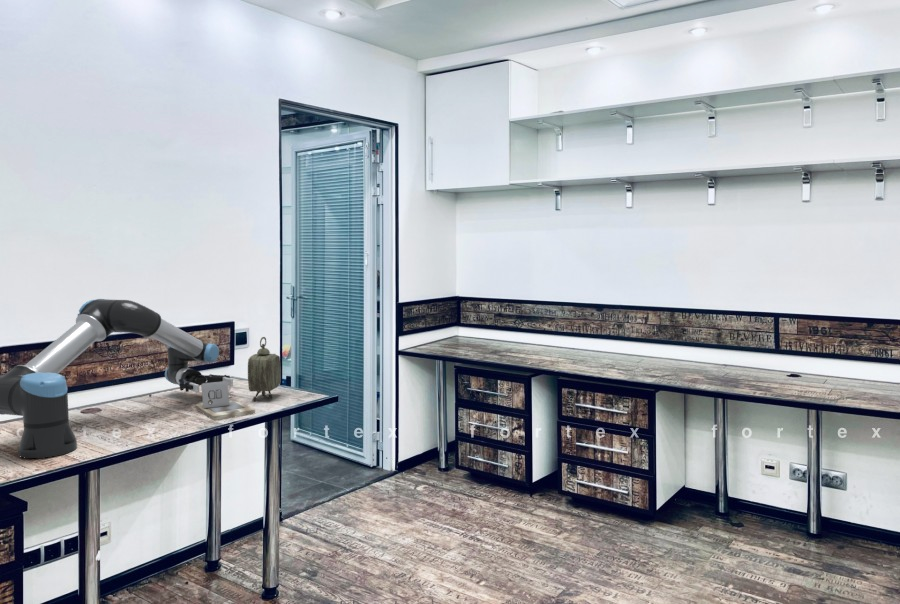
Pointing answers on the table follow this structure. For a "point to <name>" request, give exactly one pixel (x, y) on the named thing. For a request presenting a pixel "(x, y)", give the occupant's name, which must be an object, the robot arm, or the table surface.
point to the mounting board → (226, 410)
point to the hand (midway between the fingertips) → (215, 385)
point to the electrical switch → (215, 394)
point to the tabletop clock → (264, 371)
